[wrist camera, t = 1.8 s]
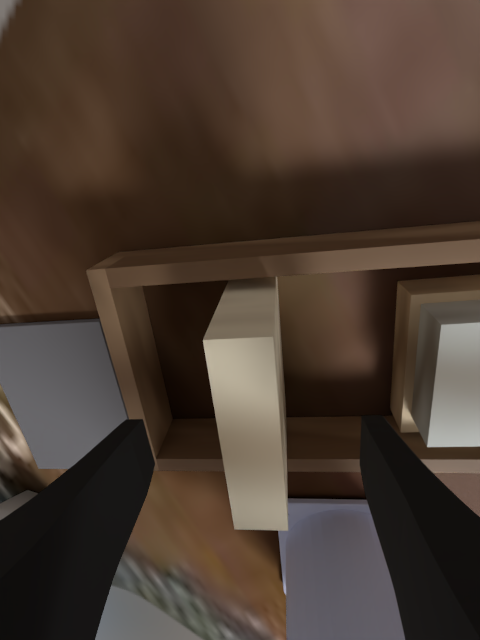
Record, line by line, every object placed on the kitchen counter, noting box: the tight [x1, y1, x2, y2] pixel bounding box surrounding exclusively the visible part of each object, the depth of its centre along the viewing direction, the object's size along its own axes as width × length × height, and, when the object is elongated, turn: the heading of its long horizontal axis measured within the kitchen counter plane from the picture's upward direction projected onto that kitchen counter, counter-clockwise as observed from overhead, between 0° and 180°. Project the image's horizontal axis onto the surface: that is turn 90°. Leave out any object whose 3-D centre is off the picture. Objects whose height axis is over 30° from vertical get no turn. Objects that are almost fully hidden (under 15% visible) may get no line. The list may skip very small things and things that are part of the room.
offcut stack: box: [390, 274, 480, 447], centre depth 15 cm, size 7×4×4 cm, turn 7°
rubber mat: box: [0, 319, 129, 469], centre depth 20 cm, size 10×7×1 cm
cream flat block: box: [203, 277, 288, 531], centre depth 15 cm, size 8×2×7 cm, turn 6°
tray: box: [86, 221, 480, 473], centre depth 16 cm, size 11×19×3 cm, turn 96°
